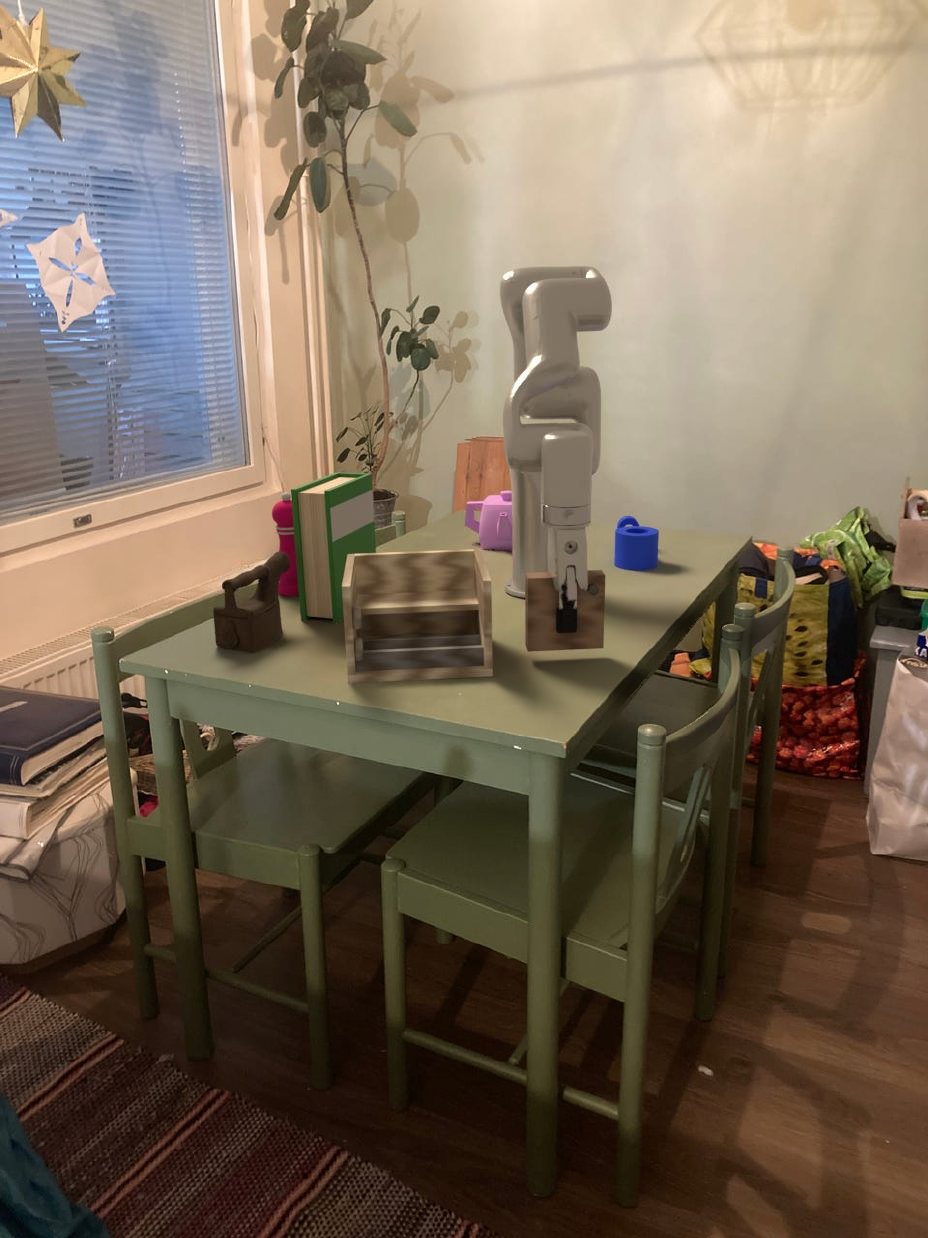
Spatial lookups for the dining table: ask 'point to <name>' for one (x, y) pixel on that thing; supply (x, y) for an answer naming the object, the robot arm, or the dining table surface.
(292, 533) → the pepper mill
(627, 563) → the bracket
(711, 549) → the dining table surface
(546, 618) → the wooden block
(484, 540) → the teakettle
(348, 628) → the wooden shelf rack
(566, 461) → the robot arm
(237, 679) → the dining table surface
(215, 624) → the clothes iron
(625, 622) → the dining table surface
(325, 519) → the hardback book
